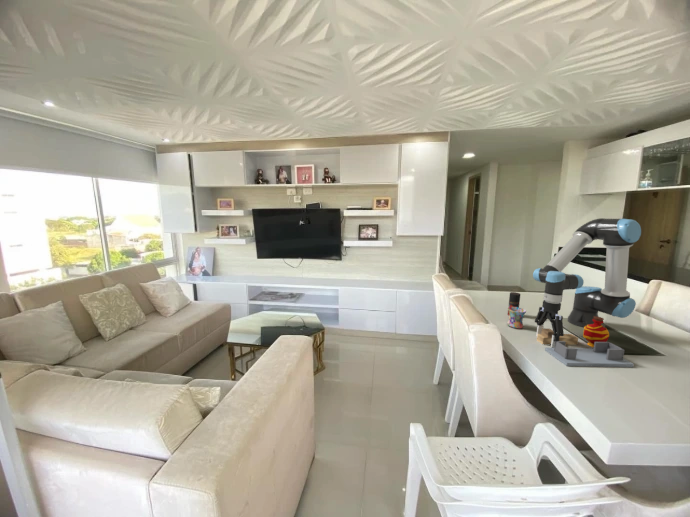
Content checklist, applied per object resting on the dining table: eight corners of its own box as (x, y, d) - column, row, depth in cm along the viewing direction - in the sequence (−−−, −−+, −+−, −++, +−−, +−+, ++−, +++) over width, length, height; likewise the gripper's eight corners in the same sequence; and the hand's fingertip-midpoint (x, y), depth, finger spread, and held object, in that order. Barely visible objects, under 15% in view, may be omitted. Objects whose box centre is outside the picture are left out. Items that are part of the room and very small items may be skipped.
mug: (522, 331, 159) (524, 313, 157) (504, 326, 165) (506, 309, 163) (526, 324, 168) (528, 308, 166) (509, 320, 174) (510, 304, 172)
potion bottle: (602, 352, 135) (607, 323, 133) (576, 343, 144) (581, 316, 142) (611, 347, 140) (616, 319, 137) (586, 339, 149) (591, 312, 146)
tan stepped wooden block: (570, 341, 148) (572, 328, 146) (577, 345, 143) (579, 332, 142) (536, 340, 147) (538, 328, 146) (542, 344, 143) (544, 332, 142)
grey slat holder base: (604, 351, 136) (606, 338, 135) (633, 367, 122) (635, 353, 121) (544, 350, 137) (546, 338, 136) (566, 365, 123) (568, 352, 122)
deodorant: (505, 313, 186) (507, 292, 183) (513, 313, 186) (516, 292, 183) (511, 317, 180) (513, 294, 177) (520, 316, 180) (522, 294, 178)
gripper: (530, 294, 153) (525, 332, 157) (561, 309, 130) (554, 352, 134) (544, 294, 153) (538, 332, 157) (577, 309, 130) (570, 352, 134)
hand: (546, 341), depth 145 cm, fingers open, 10 cm apart
